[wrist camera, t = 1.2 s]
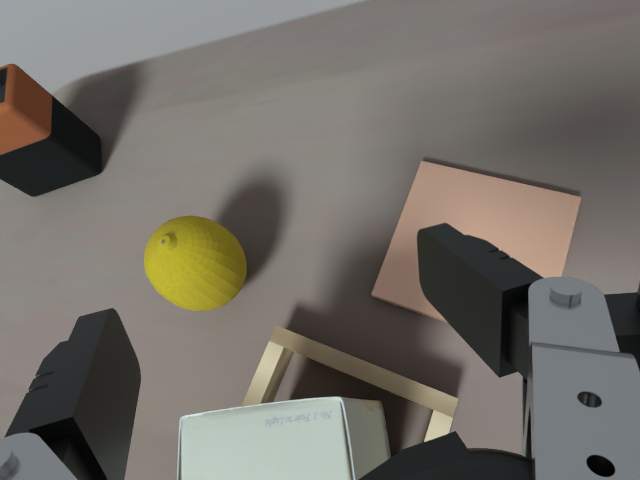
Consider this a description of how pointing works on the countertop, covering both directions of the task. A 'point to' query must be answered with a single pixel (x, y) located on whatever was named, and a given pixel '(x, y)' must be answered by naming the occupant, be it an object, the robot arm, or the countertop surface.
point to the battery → (41, 137)
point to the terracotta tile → (476, 227)
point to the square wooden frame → (291, 342)
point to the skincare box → (285, 441)
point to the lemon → (195, 263)
